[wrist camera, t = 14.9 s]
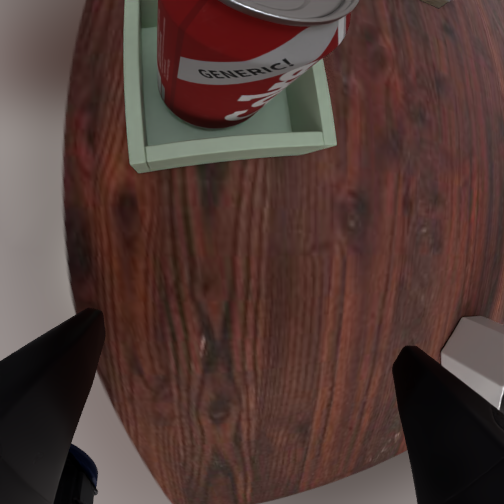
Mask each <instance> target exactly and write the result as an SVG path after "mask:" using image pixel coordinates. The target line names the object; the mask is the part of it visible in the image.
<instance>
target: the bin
mask: <svg viewBox="0 0 504 504" xmlns="http://www.w3.org/2000/svg"><path fill="white" fill-rule="evenodd" d="M157 13H158V0H125V7H124V42H123V58H124V95H125V114H126V129H127V141H128V152H129V162H130V165H131V166H132V167H133V168H134V169H135V170H136V171H137V172H138V173H145V172H151V171H157V170H163V169H170V168H177V167H184V166H191V165H199V164H207V163H215V162H224V161H233V160H243V159H254V158H265V157H278V156H293V155H303V154H307V153H310V152H314V151H318V150H321V149H325V148H329V147H332V146H336V145H337V141H336V134H335V127H334V120H333V113H332V107H331V101H330V95H329V90H328V84H327V79H326V73H325V68H324V63H323V59H321V60H320V61H319V62H317V63H316V64H315V65H313V66H312V67H311V68H310V69H308V70H307V71H306V72H304V73H303V74H302V75H301V76H299V77H298V78H297V79H296V80H294V81H293V82H292V83H291V84H290V85H288V86H287V87H286V88H285V89H283V90H282V91H281V92H280V93H279V94H277V95H276V96H275V97H274V98H273V99H271V100H270V101H269V102H268V103H267V104H266V105H264V106H263V107H262V108H261V109H260V110H259V111H258V112H256V113H255V114H254V115H253V116H252V117H250V118H249V119H248V120H246V121H244V122H242V123H241V124H238V125H236V126H233V127H229V128H223V129H206V128H200V127H196V126H193V125H191V124H188V123H186V122H184V121H183V120H181V119H179V118H178V117H177V116H175V115H174V114H173V113H172V112H171V111H170V110H169V109H168V107H167V106H166V105H165V103H164V102H163V100H162V98H161V96H160V93H159V89H158V82H157Z"/></svg>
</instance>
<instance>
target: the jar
mask: <svg viewBox="0 0 504 504" xmlns="http://www.w3.org/2000/svg"><path fill="white" fill-rule="evenodd" d="M441 365H442V366H443V367H444V368H446V369H447V370H448V371H450V372H451V373H452V374H454V375H455V376H456V377H457V378H459V379H460V380H461V381H463V382H464V383H465V384H467V385H468V386H469V387H470V388H472V389H473V390H474V391H475V392H477V393H478V394H479V395H481V396H482V397H483V398H484V399H486V400H487V401H488V402H490V404H492V405H493V406H495V407H496V408H497V409H498V410H500V411H501V412H502V413H504V325H503V324H500V323H498V322H495V321H493V320H490V319H488V318H485V317H483V316H471V317H462V318H461V320H460V321H459V323H458V325H457V327H456V328H455V330H454V332H453V333H452V335H451V337H450V338H449V340H448V342H447V343H446V345H445V346H444V348H443V349H442V351H441Z"/></svg>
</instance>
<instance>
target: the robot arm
mask: <svg viewBox="0 0 504 504" xmlns="http://www.w3.org/2000/svg"><path fill="white" fill-rule="evenodd" d="M104 341H105V326H104V318H103V313H102V311H101V310H99V309H94V308H87V309H85V310H83V311H81V312H80V313H78V314H76V315H75V316H73V317H71V318H70V319H68V320H66V321H65V322H63V323H61V324H60V325H58V326H56V327H55V328H53V329H51V330H50V331H48V332H47V333H45V334H43V335H41V336H40V337H38V338H37V339H35V340H33V341H32V342H30V343H28V344H27V345H25V346H24V347H22V348H20V349H19V350H18V351H16V352H14V353H12V354H11V355H9V356H8V357H6V358H4V359H3V360H1V361H0V504H93V497H94V495H97V494H98V490H97V489H96V487H95V485H94V483H93V482H92V481H91V479H90V478H89V476H88V475H87V474H86V472H85V471H84V470H83V469H82V467H81V466H80V464H79V463H78V461H77V460H76V458H75V457H74V455H73V454H72V453H70V452H68V451H69V448H70V445H71V442H72V439H73V436H74V433H75V430H76V427H77V425H78V422H79V419H80V416H81V414H82V411H83V408H84V405H85V403H86V400H87V397H88V395H89V392H90V389H91V387H92V384H93V380H94V377H95V373H96V369H97V366H98V362H99V358H100V355H101V351H102V348H103V344H104ZM392 372H393V378H394V384H395V390H396V397H397V404H398V410H399V414H400V419H401V423H402V427H403V431H404V436H405V440H406V445H407V449H408V454H409V459H410V464H411V469H412V474H413V479H414V485H415V490H416V497H417V503H418V504H504V413H502V412H501V411H500V410H498V409H497V408H496V407H495V406H493V405H492V404H490V402H488V401H487V400H486V399H484V398H483V397H482V396H481V395H479V394H478V393H477V392H475V391H474V390H473V389H472V388H470V387H469V386H468V385H467V384H465V383H464V382H463V381H461V380H460V379H459V378H457V377H456V376H455V375H454V374H452V373H451V372H450V371H448V370H447V369H446V368H444V367H443V366H442V365H441V364H439V363H438V362H437V361H435V360H434V359H433V358H431V357H430V356H429V355H427V354H426V353H425V352H424V351H422V350H421V349H420V348H418V347H417V346H405V347H404V348H403V349H402V350H401V352H400V354H399V355H398V357H397V359H396V360H395V362H394V364H393V367H392ZM68 456H69V457H68Z"/></svg>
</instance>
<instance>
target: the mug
mask: <svg viewBox="0 0 504 504" xmlns="http://www.w3.org/2000/svg"><path fill="white" fill-rule="evenodd" d="M421 1H423V2H425V3H428V4H430V5H432V6H434V7H437V8H440V7H442V6H443V5H445V4H446V3H447V2H449V1H451V0H421Z"/></svg>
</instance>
